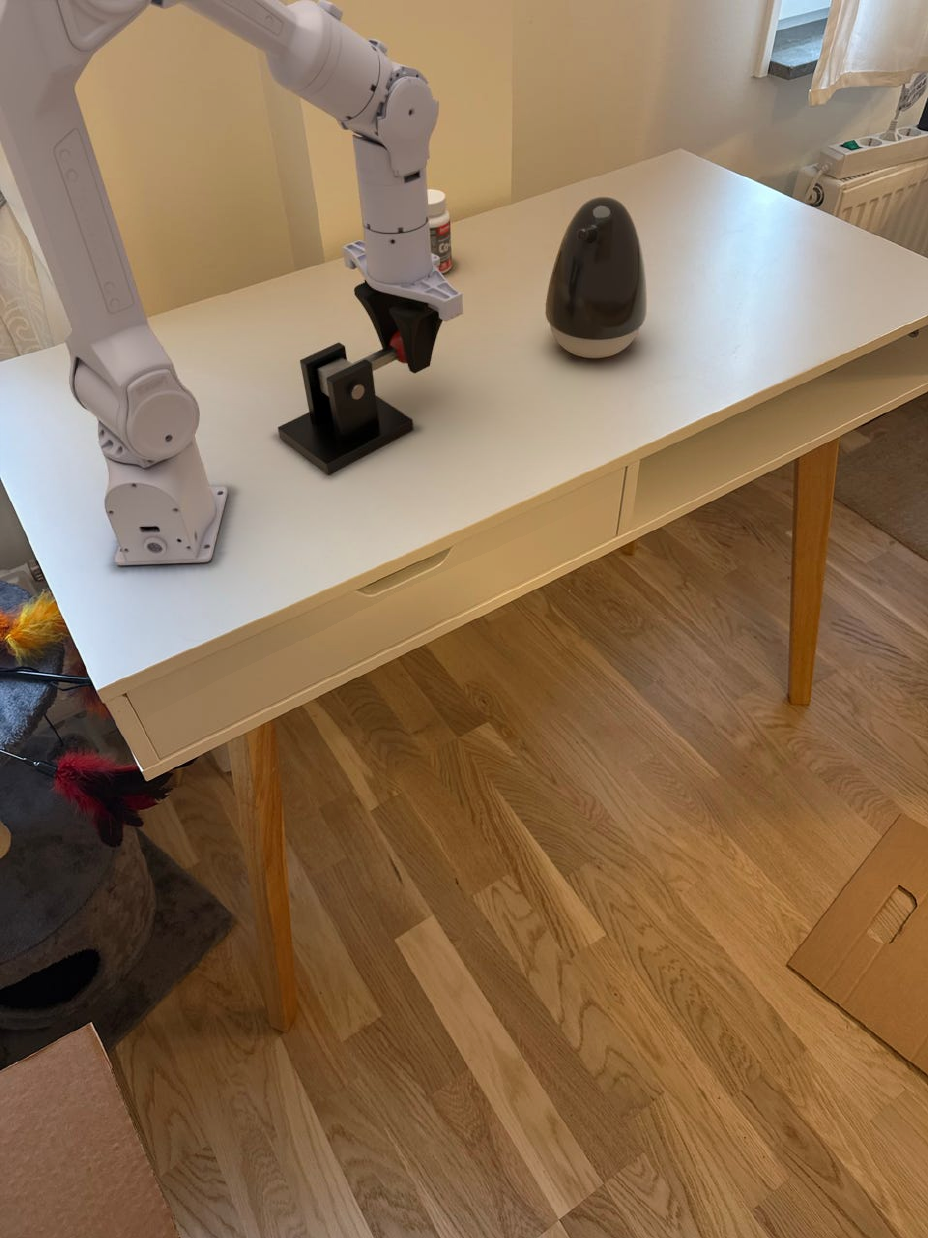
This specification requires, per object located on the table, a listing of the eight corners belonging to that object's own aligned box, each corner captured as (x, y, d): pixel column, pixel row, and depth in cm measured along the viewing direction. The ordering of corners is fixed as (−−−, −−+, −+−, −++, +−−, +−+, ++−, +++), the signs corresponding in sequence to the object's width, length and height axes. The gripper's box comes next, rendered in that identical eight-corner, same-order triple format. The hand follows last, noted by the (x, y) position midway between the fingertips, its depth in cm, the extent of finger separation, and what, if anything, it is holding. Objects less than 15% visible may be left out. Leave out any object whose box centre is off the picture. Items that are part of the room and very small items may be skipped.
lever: (410, 348, 91) (407, 318, 88) (431, 360, 89) (429, 330, 87) (318, 393, 86) (312, 362, 83) (338, 407, 84) (333, 376, 82)
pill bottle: (447, 278, 109) (444, 206, 103) (408, 275, 110) (402, 204, 104) (455, 259, 112) (452, 188, 106) (417, 256, 113) (412, 186, 107)
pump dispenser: (527, 358, 97) (530, 212, 86) (567, 312, 103) (575, 170, 92) (620, 381, 93) (635, 231, 82) (655, 332, 99) (674, 187, 88)
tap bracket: (362, 395, 93) (353, 324, 87) (413, 429, 89) (407, 357, 83) (279, 437, 89) (263, 365, 83) (328, 475, 84) (315, 402, 79)
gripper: (488, 230, 77) (490, 374, 87) (380, 181, 85) (393, 318, 95) (422, 258, 74) (432, 404, 84) (316, 204, 82) (337, 344, 92)
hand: (408, 360), depth 89 cm, fingers closed on lever, 3 cm apart
